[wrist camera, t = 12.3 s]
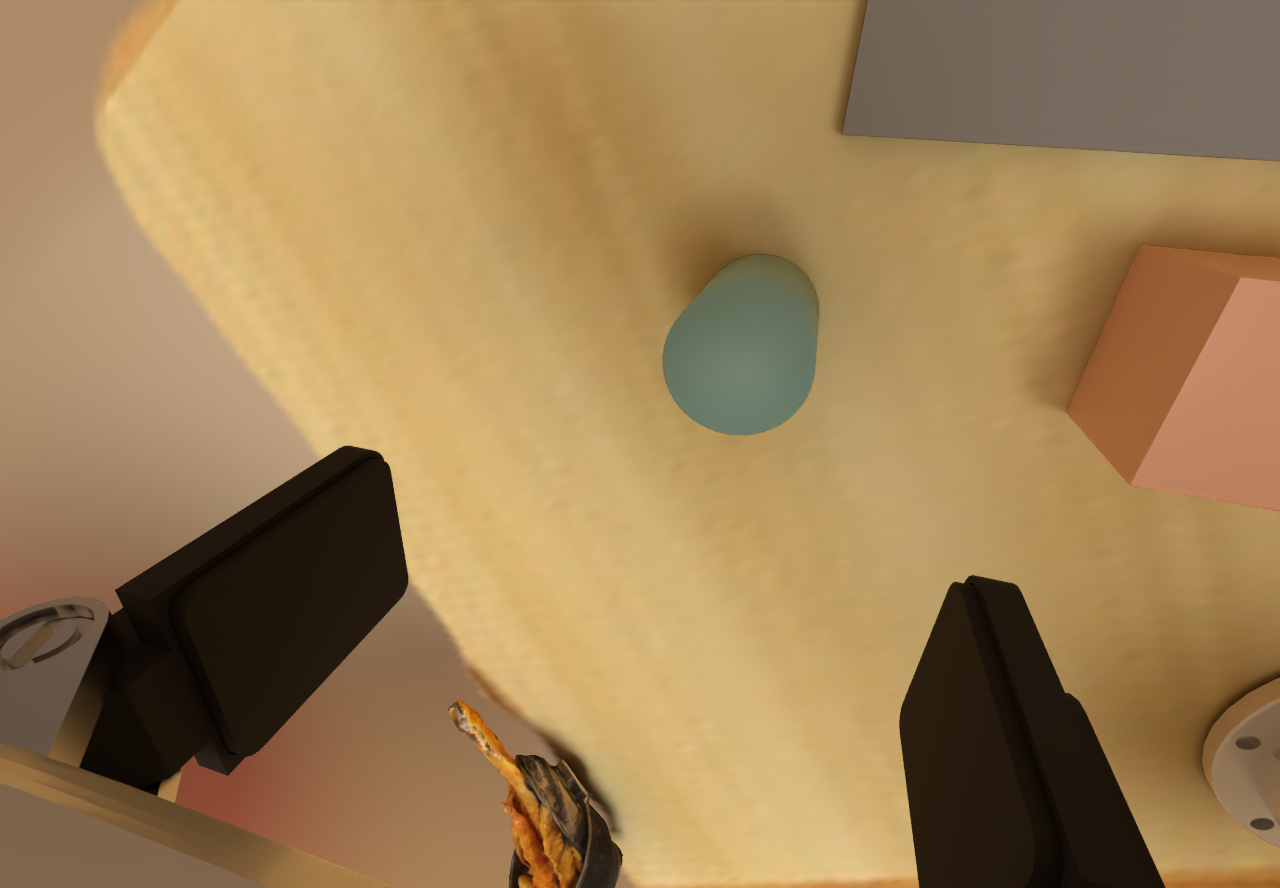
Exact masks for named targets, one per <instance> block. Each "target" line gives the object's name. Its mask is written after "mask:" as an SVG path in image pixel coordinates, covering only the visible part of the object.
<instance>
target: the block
mask: <svg viewBox="0 0 1280 888" xmlns="http://www.w3.org/2000/svg"><path fill="white" fill-rule="evenodd" d="M1066 413H1067V414H1068V415H1069V416H1070V417H1071V419H1072V420H1073V421H1074V422H1075V423H1076V424H1077V425H1078V427H1079V428H1080V429H1081V430H1082V431H1083V432H1084V433H1085V435H1086V436H1087V437H1088V438H1089V439H1090V440H1091V441H1092V443H1093V444H1094V445H1095V446H1096V447H1097V448H1098V449H1099V451H1100V452H1101V453H1102V454H1103V455H1104V456H1105V457H1106V459H1107V460H1108V461H1109V462H1110V463H1111V464H1112V465H1113V467H1114V468H1115V469H1116V470H1117V471H1118V472H1119V474H1120V475H1121V476H1122V477H1123V478H1124V479H1125V480H1126V482H1127V483H1128V484H1129V485H1131V486H1136V487H1142V488H1148V489H1154V490H1160V491H1165V492H1171V493H1177V494H1183V495H1188V496H1194V497H1200V498H1206V499H1211V500H1217V501H1223V502H1229V503H1234V504H1240V505H1246V506H1252V507H1257V508H1263V509H1269V510H1275V511H1280V258H1276V257H1265V256H1255V255H1244V254H1233V253H1223V252H1212V251H1202V250H1191V249H1180V248H1170V247H1159V246H1149V245H1140V247H1139V249H1138V252H1137V254H1136V256H1135V258H1134V261H1133V263H1132V265H1131V267H1130V270H1129V272H1128V274H1127V276H1126V279H1125V281H1124V283H1123V285H1122V288H1121V290H1120V292H1119V295H1118V297H1117V299H1116V301H1115V304H1114V306H1113V308H1112V310H1111V313H1110V315H1109V317H1108V319H1107V322H1106V324H1105V326H1104V328H1103V331H1102V333H1101V335H1100V337H1099V340H1098V342H1097V344H1096V346H1095V349H1094V351H1093V353H1092V355H1091V358H1090V360H1089V362H1088V365H1087V367H1086V369H1085V371H1084V374H1083V376H1082V378H1081V380H1080V383H1079V385H1078V387H1077V389H1076V392H1075V394H1074V396H1073V398H1072V401H1071V403H1070V405H1069V407H1068V410H1067V412H1066Z"/></svg>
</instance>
